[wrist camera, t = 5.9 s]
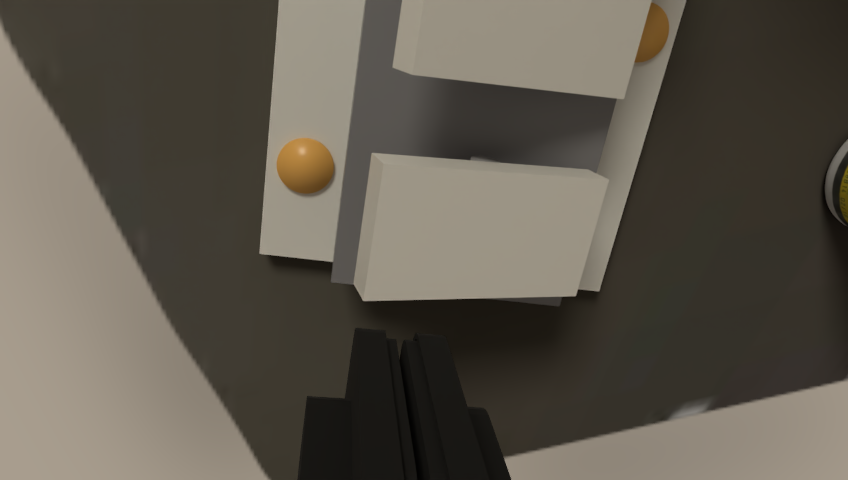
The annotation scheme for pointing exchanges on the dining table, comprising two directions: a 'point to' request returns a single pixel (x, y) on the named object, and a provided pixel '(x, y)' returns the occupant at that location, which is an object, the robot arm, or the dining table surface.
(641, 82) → the switch unit
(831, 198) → the supplement bottle
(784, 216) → the dining table surface
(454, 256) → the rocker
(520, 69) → the rocker middle
